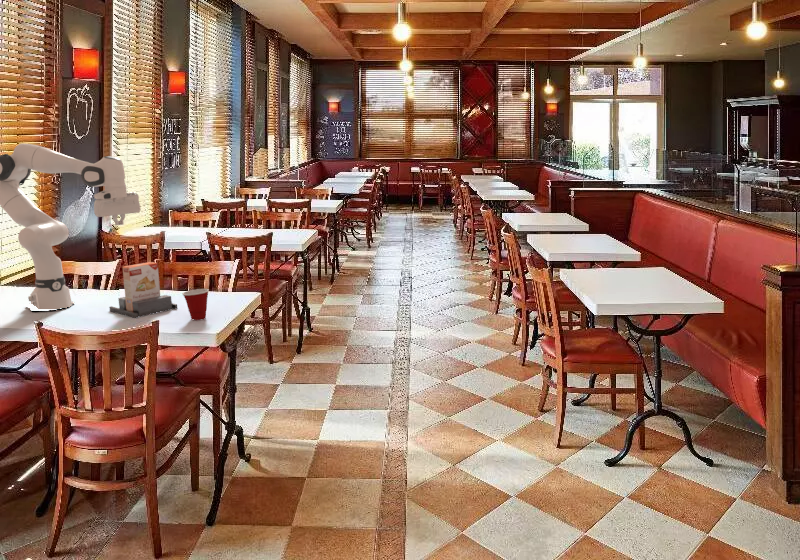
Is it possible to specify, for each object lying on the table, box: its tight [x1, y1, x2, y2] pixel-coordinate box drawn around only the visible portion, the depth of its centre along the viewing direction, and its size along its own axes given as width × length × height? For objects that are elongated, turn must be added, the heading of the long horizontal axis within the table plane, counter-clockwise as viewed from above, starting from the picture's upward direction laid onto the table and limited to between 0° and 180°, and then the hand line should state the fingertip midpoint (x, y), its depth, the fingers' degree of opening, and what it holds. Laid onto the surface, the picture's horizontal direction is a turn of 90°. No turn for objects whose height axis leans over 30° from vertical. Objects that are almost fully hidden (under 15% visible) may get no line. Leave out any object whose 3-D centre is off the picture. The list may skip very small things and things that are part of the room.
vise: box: [108, 294, 178, 319], centre depth 319 cm, size 22×20×6 cm
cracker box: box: [122, 261, 161, 312], centre depth 316 cm, size 14×6×21 cm, turn 141°
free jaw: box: [117, 296, 127, 310], centre depth 321 cm, size 5×16×6 cm, turn 140°
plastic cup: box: [182, 288, 210, 321], centre depth 301 cm, size 11×11×12 cm
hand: (119, 224), depth 321 cm, fingers closed
